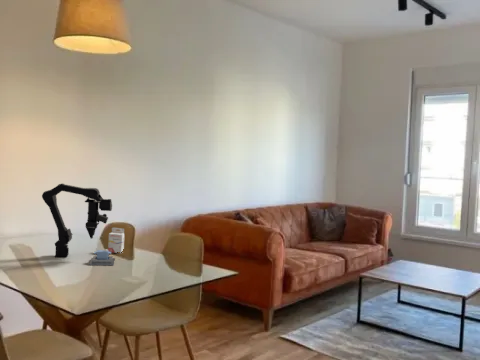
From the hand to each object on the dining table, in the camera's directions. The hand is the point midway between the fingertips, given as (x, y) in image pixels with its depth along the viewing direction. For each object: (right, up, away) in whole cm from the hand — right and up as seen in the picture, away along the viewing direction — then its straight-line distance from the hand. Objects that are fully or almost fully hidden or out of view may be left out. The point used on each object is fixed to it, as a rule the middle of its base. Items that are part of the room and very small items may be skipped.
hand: (92, 236), depth 291 cm
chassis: (+8, -13, -9) cm, 18 cm away
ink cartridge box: (+9, -12, +17) cm, 23 cm away
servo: (+9, -12, -10) cm, 18 cm away
